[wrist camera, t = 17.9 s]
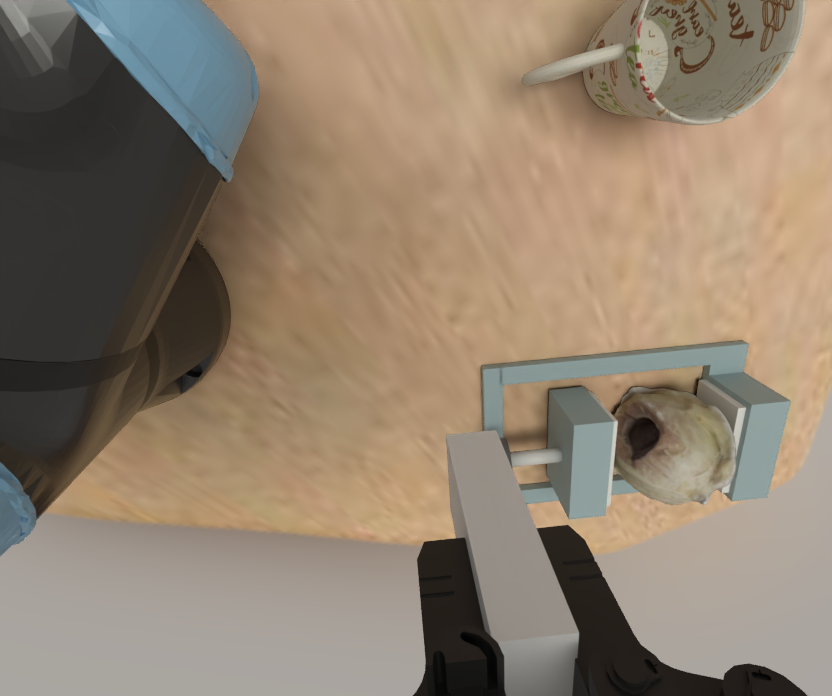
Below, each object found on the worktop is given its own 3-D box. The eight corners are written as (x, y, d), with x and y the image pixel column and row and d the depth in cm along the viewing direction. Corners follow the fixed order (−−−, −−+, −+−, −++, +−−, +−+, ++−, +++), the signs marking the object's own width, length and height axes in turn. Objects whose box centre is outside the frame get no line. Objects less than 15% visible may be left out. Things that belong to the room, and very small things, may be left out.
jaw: (486, 481, 44) (500, 526, 39) (483, 396, 41) (499, 433, 36) (585, 471, 45) (612, 514, 39) (590, 385, 41) (622, 420, 36)
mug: (687, 115, 34) (801, 101, 25) (513, 160, 35) (561, 163, 25) (685, -25, 31) (813, -100, 22) (493, 26, 31) (540, -27, 22)
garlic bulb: (663, 373, 45) (775, 401, 35) (663, 457, 46) (770, 506, 37) (579, 394, 42) (677, 432, 32) (583, 484, 43) (677, 544, 34)
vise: (485, 502, 46) (499, 550, 40) (481, 365, 40) (497, 399, 35) (716, 478, 46) (761, 522, 41) (742, 340, 41) (798, 369, 36)
